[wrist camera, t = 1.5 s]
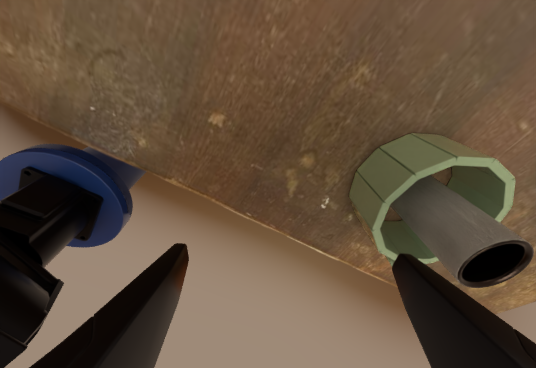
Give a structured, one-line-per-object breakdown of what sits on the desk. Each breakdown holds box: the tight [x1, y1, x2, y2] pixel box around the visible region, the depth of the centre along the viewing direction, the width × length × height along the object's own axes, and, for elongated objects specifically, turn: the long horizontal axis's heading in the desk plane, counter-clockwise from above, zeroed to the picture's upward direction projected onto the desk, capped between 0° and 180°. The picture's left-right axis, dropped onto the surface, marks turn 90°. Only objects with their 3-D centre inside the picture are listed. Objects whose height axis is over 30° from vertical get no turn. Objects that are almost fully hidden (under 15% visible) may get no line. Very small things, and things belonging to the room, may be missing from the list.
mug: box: [349, 133, 516, 266], centre depth 21 cm, size 14×11×6 cm
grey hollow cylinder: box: [390, 175, 534, 288], centre depth 18 cm, size 4×4×10 cm
